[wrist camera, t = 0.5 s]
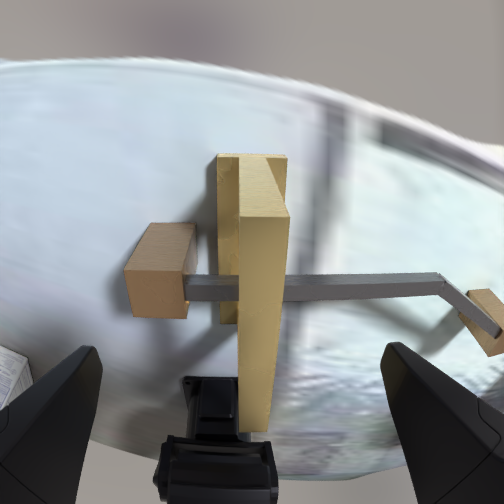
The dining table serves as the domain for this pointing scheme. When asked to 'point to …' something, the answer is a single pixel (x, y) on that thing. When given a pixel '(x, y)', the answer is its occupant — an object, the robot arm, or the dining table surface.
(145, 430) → the dining table surface
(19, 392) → the medicine box
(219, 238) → the wooden frame
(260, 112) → the dining table surface
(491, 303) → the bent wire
